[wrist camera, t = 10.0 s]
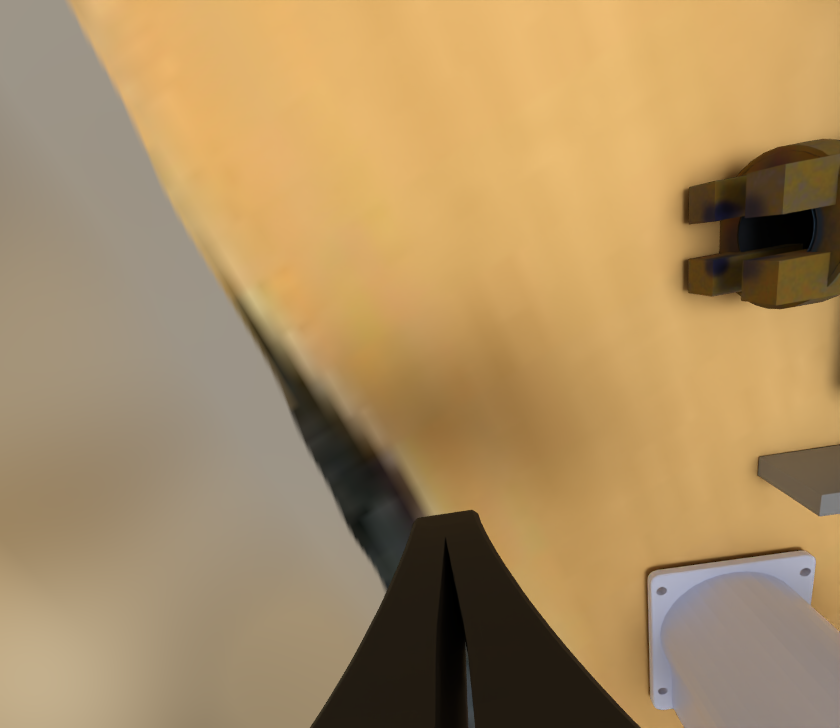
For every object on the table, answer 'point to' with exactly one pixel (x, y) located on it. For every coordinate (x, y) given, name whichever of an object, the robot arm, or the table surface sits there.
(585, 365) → the table surface
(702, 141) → the table surface
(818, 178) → the pipe connector
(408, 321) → the table surface
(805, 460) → the bracket
